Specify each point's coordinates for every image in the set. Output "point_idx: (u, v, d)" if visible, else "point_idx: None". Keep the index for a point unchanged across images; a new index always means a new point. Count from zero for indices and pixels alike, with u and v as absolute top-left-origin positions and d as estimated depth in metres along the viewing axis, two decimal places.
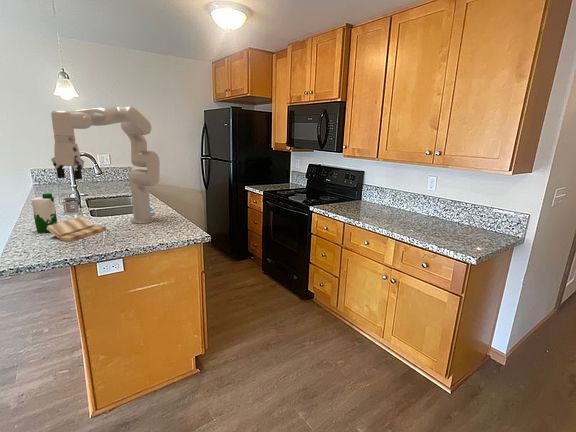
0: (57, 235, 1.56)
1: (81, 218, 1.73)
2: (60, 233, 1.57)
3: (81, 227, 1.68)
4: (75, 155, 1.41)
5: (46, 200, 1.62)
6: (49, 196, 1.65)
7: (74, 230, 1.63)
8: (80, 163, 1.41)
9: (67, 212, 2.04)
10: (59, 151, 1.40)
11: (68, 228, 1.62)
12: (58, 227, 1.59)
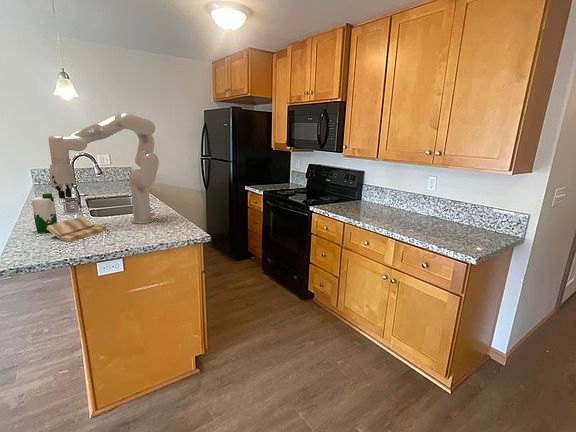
0: (57, 235, 1.56)
1: (81, 218, 1.73)
2: (60, 233, 1.57)
3: (81, 227, 1.68)
4: None
5: (46, 200, 1.62)
6: (49, 196, 1.65)
7: (74, 230, 1.63)
8: (74, 183, 1.65)
9: (67, 212, 2.04)
10: (64, 171, 1.58)
11: (68, 228, 1.62)
12: (58, 227, 1.59)
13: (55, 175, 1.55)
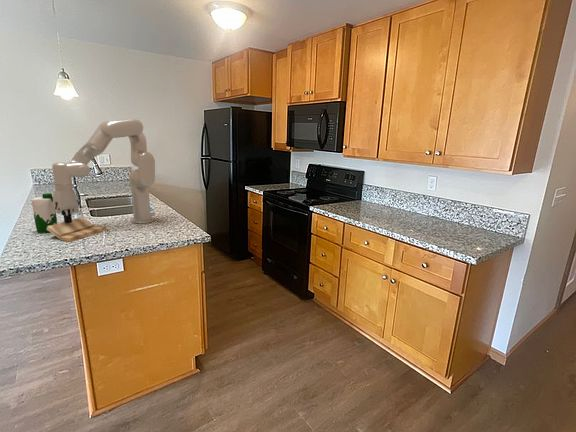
0: (57, 235, 1.56)
1: (81, 218, 1.74)
2: (60, 233, 1.57)
3: (81, 227, 1.68)
4: None
5: (46, 200, 1.62)
6: (49, 196, 1.65)
7: (74, 230, 1.63)
8: (74, 209, 1.67)
9: None
10: (67, 197, 1.61)
11: (68, 228, 1.62)
12: (58, 227, 1.59)
13: (58, 201, 1.58)
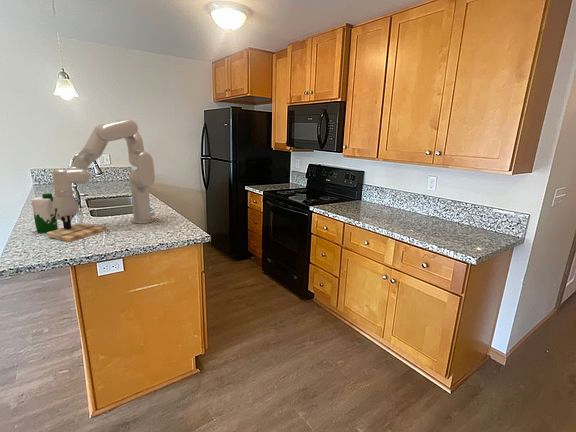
0: (57, 237, 1.56)
1: (80, 223, 1.74)
2: (60, 234, 1.57)
3: (81, 228, 1.68)
4: None
5: (46, 200, 1.62)
6: (49, 196, 1.65)
7: (74, 231, 1.63)
8: (74, 215, 1.68)
9: None
10: (66, 204, 1.61)
11: (68, 231, 1.63)
12: (57, 231, 1.60)
13: (58, 208, 1.58)
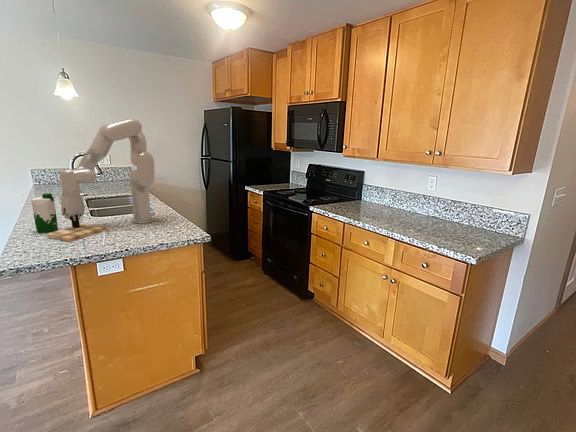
0: (58, 237, 1.56)
1: (80, 224, 1.75)
2: (60, 235, 1.57)
3: (81, 228, 1.68)
4: None
5: (46, 200, 1.62)
6: (49, 196, 1.65)
7: (74, 231, 1.63)
8: (81, 214, 1.72)
9: None
10: (74, 203, 1.65)
11: (68, 231, 1.63)
12: (57, 232, 1.60)
13: (66, 207, 1.62)
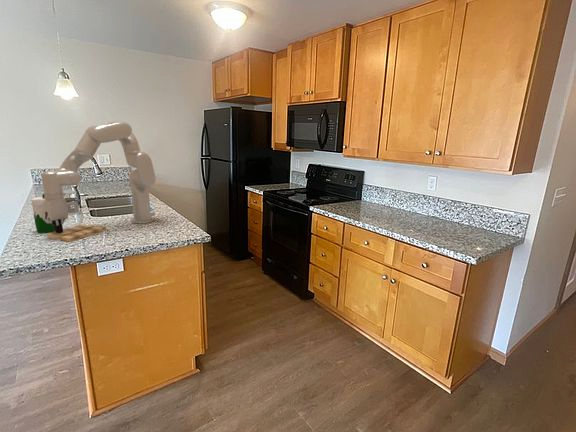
0: (58, 237, 1.56)
1: (80, 224, 1.75)
2: (60, 235, 1.57)
3: (81, 228, 1.68)
4: None
5: None
6: None
7: (74, 231, 1.63)
8: (65, 218, 1.63)
9: None
10: (57, 207, 1.56)
11: (68, 231, 1.63)
12: None
13: (48, 211, 1.53)
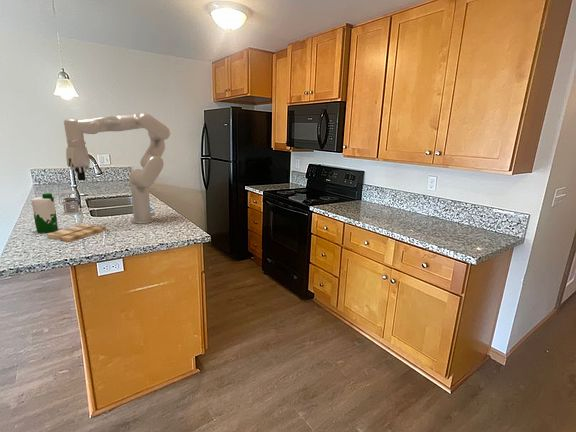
0: (58, 237, 1.56)
1: (80, 224, 1.75)
2: (60, 235, 1.57)
3: (81, 228, 1.68)
4: None
5: (46, 200, 1.62)
6: (49, 196, 1.65)
7: (74, 231, 1.63)
8: (87, 167, 1.69)
9: (67, 212, 2.04)
10: (80, 154, 1.62)
11: (68, 231, 1.63)
12: (58, 232, 1.60)
13: (72, 157, 1.59)
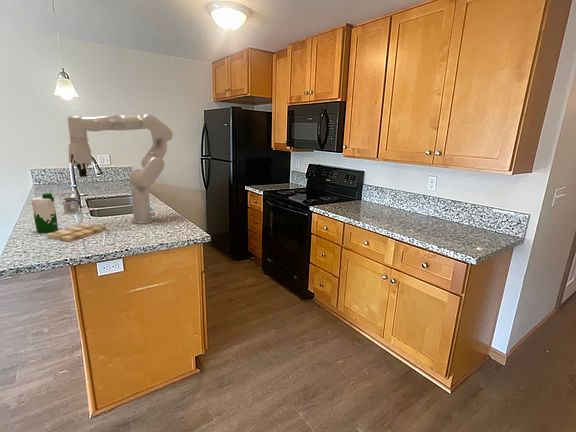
0: (58, 237, 1.56)
1: (80, 224, 1.75)
2: (60, 235, 1.57)
3: (81, 228, 1.68)
4: None
5: (46, 200, 1.62)
6: (49, 196, 1.65)
7: (74, 231, 1.63)
8: (89, 164, 1.70)
9: (67, 212, 2.04)
10: (82, 151, 1.63)
11: (68, 231, 1.63)
12: (58, 232, 1.60)
13: (74, 154, 1.60)
